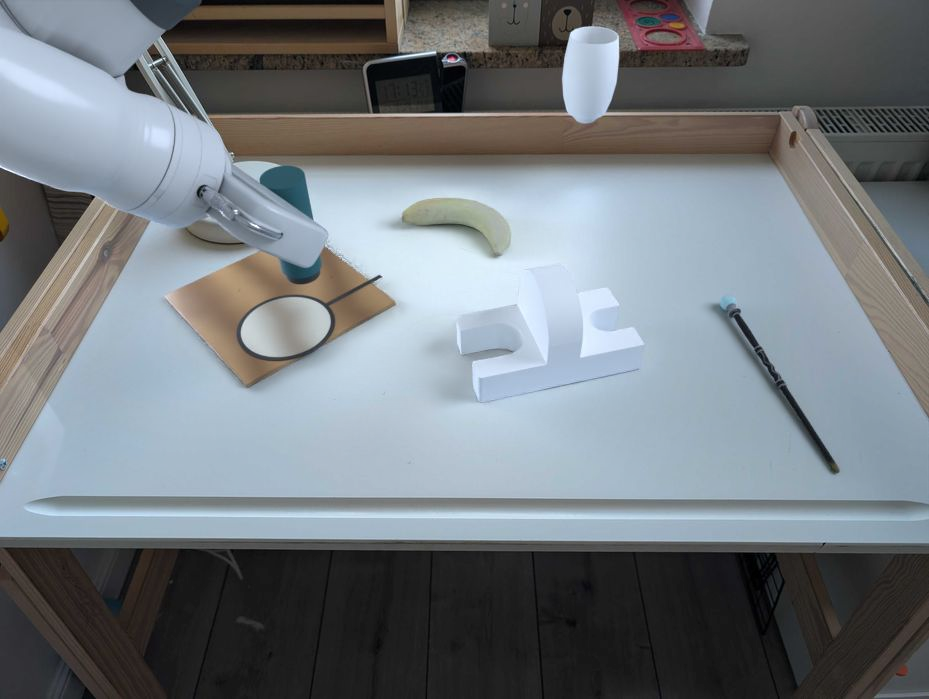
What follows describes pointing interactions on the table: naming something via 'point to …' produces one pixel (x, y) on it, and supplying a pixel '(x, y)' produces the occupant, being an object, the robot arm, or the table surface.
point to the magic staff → (775, 374)
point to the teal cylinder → (294, 191)
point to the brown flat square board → (275, 311)
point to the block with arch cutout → (547, 337)
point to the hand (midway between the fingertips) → (297, 222)
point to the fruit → (462, 218)
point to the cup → (590, 72)
